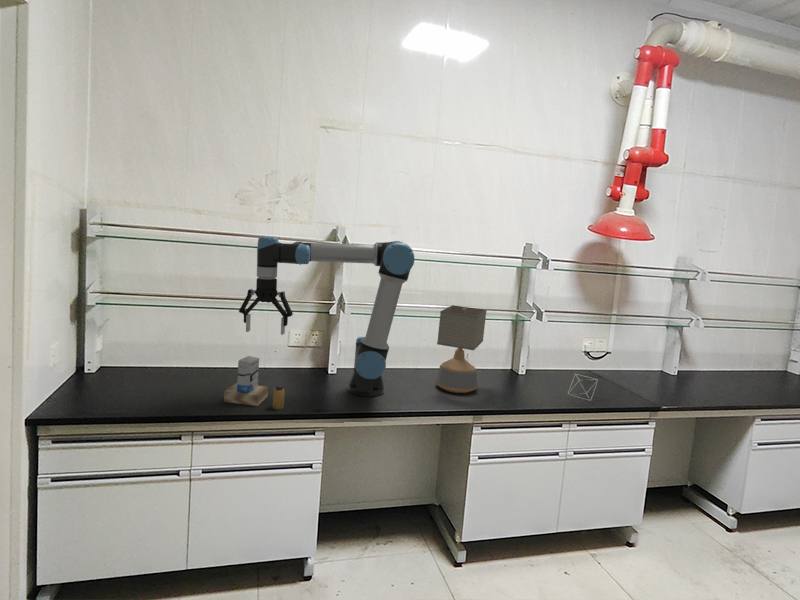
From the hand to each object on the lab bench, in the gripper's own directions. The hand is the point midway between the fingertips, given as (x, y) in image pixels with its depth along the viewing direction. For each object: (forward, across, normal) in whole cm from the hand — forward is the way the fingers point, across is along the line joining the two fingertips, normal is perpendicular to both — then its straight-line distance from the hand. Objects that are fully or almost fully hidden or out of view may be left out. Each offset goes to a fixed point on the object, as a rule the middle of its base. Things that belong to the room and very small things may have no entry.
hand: (265, 332), depth 207 cm
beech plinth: (+25, +5, +6) cm, 26 cm away
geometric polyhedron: (+29, -135, -45) cm, 145 cm away
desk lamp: (+27, -76, -36) cm, 89 cm away
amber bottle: (+25, -9, +11) cm, 29 cm away
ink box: (+21, +4, +6) cm, 22 cm away
